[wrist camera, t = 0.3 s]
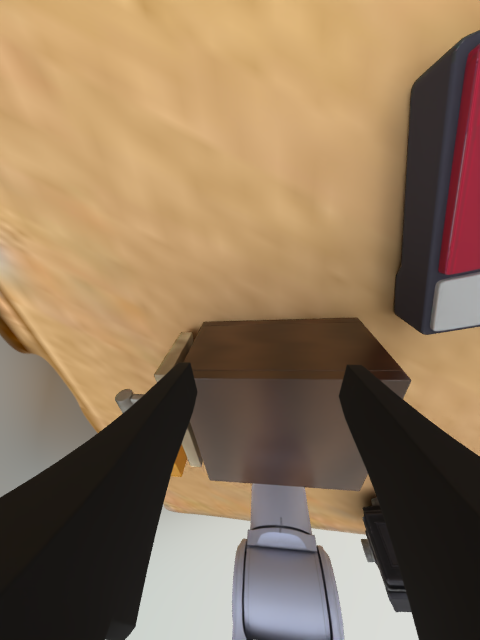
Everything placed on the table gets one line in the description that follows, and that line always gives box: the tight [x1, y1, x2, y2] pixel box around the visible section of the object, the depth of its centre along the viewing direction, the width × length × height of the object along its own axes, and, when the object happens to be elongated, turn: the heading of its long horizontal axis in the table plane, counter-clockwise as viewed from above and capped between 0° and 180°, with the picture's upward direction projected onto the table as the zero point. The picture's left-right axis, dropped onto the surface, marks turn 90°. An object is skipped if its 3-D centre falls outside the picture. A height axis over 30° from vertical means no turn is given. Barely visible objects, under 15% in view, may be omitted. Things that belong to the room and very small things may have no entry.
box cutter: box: [171, 444, 187, 477], centre depth 30 cm, size 9×3×3 cm, turn 5°
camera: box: [361, 497, 412, 612], centre depth 31 cm, size 11×11×15 cm
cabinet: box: [184, 318, 411, 491], centre depth 19 cm, size 15×15×8 cm
